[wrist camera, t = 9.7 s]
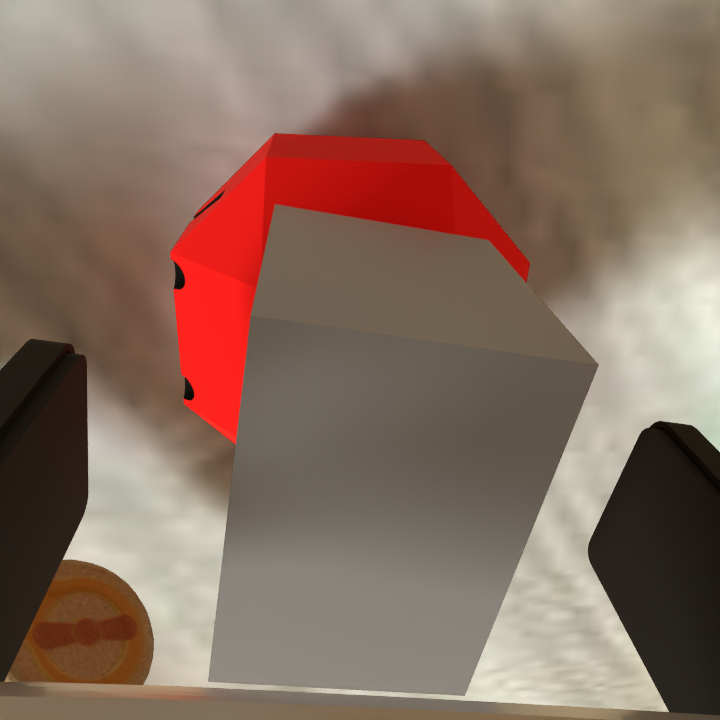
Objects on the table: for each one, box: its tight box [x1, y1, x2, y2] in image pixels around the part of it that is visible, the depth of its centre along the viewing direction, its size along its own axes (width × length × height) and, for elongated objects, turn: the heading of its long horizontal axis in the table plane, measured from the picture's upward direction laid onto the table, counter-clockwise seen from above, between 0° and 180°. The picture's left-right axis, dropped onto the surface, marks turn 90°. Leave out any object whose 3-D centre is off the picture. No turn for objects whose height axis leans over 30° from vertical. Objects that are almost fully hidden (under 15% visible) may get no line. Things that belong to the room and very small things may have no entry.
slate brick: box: [208, 204, 599, 696], centre depth 10 cm, size 6×4×5 cm, turn 169°
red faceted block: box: [170, 133, 530, 444], centre depth 16 cm, size 8×8×8 cm
